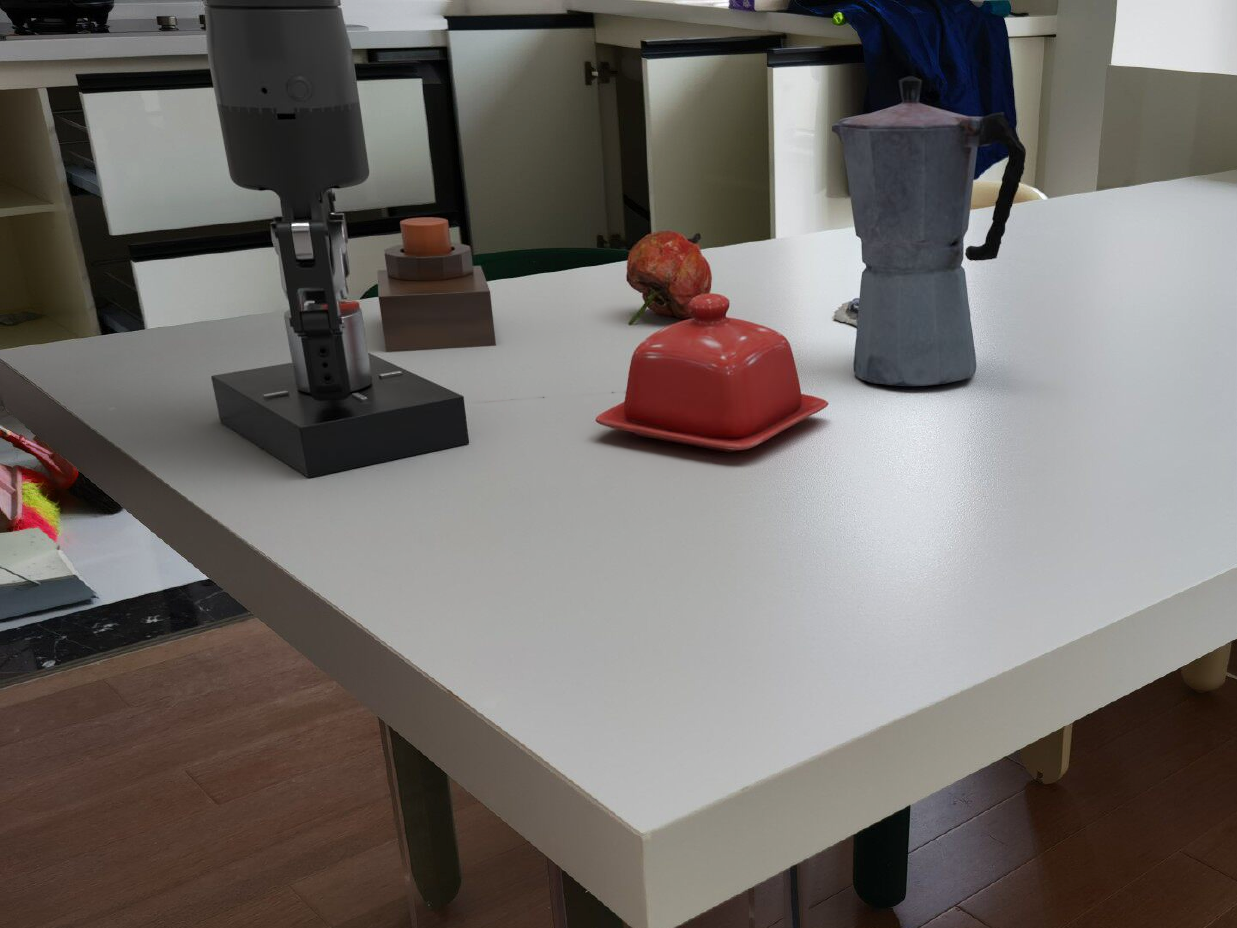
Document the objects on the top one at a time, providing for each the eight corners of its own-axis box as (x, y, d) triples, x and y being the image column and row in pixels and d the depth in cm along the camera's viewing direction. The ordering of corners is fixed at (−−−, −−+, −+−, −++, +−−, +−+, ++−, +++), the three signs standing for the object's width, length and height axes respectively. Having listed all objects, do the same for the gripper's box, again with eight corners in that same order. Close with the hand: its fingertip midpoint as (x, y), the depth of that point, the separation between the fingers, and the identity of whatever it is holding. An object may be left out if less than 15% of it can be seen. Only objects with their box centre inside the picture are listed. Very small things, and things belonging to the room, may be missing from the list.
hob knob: (311, 398, 83) (297, 317, 81) (286, 382, 86) (272, 304, 84) (383, 386, 85) (372, 307, 83) (356, 371, 88) (344, 294, 86)
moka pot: (863, 347, 108) (866, 68, 99) (1044, 377, 101) (1065, 79, 92) (795, 374, 101) (791, 75, 92) (985, 408, 94) (1001, 88, 85)
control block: (496, 346, 107) (487, 266, 104) (386, 353, 104) (374, 271, 102) (485, 313, 116) (477, 240, 114) (384, 319, 114) (373, 244, 111)
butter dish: (744, 469, 82) (740, 324, 78) (586, 439, 86) (574, 301, 83) (837, 419, 91) (837, 287, 87) (689, 395, 96) (683, 268, 92)
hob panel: (219, 422, 89) (210, 373, 87) (371, 394, 95) (364, 348, 93) (308, 478, 79) (299, 424, 78) (469, 443, 85) (463, 393, 84)
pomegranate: (675, 359, 113) (754, 271, 115) (616, 291, 108) (699, 201, 110) (635, 350, 118) (710, 266, 120) (577, 285, 114) (656, 199, 116)
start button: (453, 257, 109) (449, 223, 108) (404, 259, 108) (400, 225, 107) (450, 249, 112) (446, 216, 111) (403, 251, 111) (399, 218, 110)
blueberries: (914, 308, 121) (914, 285, 120) (913, 330, 114) (914, 306, 113) (836, 306, 121) (836, 284, 120) (830, 328, 114) (830, 304, 113)
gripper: (228, 85, 83) (276, 354, 91) (201, 108, 71) (259, 417, 78) (360, 84, 85) (397, 347, 93) (356, 106, 73) (399, 407, 81)
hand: (334, 379), depth 86 cm, fingers open, 8 cm apart
